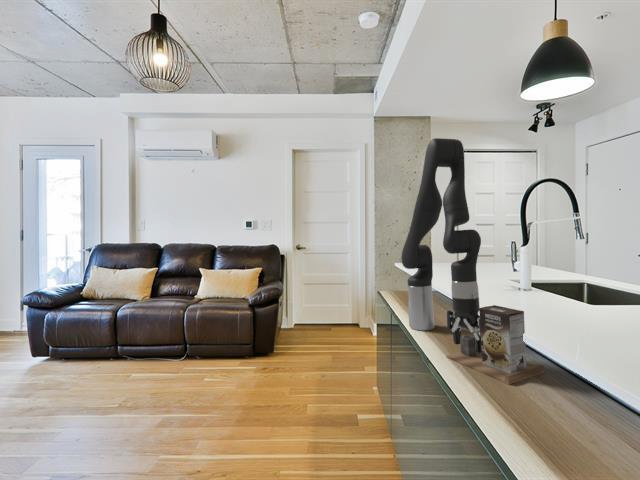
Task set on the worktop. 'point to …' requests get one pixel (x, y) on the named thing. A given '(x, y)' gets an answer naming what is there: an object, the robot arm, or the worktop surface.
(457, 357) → the brown wooden flat block
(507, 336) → the brown boxy piece
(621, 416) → the worktop surface
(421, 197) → the robot arm
